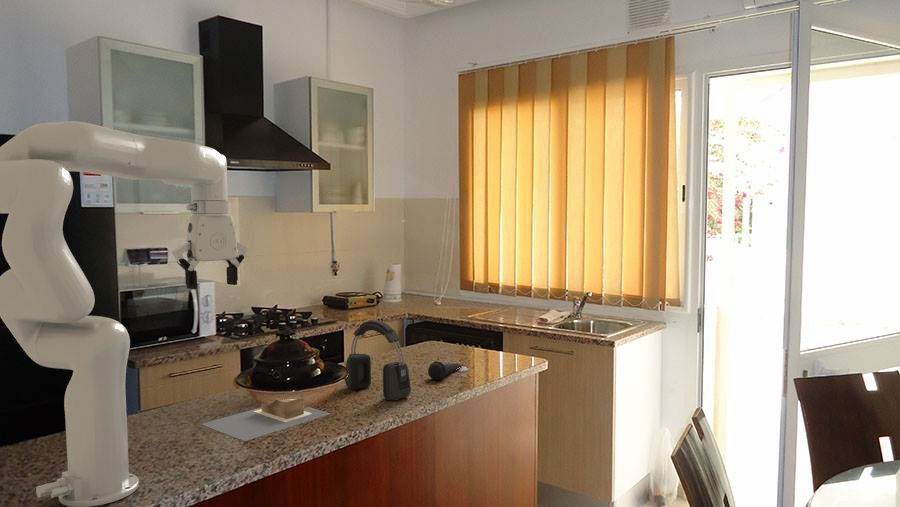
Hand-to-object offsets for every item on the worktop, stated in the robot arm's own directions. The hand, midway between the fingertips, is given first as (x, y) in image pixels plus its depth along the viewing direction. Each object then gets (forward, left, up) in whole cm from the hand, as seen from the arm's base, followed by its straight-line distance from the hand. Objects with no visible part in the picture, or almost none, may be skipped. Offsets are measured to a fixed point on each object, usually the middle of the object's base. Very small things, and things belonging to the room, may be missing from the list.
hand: (212, 286), depth 144 cm
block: (+17, -1, -33) cm, 37 cm away
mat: (+12, -2, -33) cm, 35 cm away
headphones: (+45, -5, -34) cm, 56 cm away
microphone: (+73, -8, -34) cm, 81 cm away
